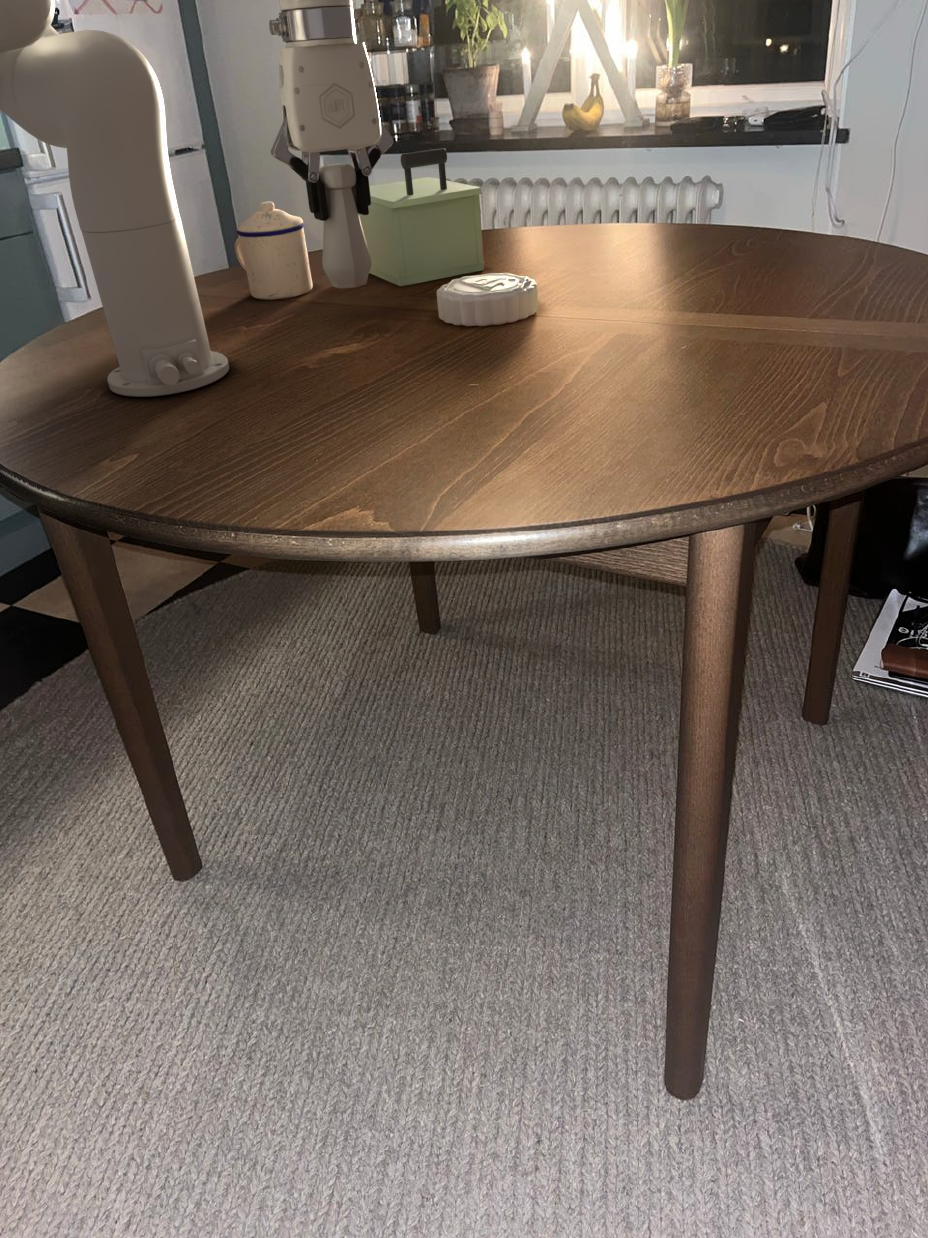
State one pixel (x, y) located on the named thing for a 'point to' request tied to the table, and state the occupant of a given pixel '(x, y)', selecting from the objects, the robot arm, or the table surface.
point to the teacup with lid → (274, 254)
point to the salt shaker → (343, 230)
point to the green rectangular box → (424, 240)
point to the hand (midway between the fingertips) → (341, 214)
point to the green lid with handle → (421, 183)
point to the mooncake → (487, 299)
